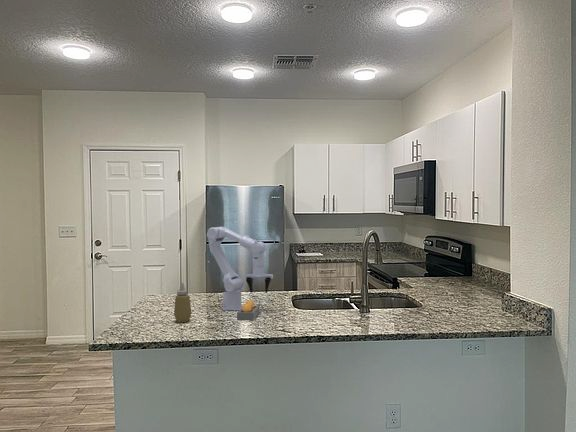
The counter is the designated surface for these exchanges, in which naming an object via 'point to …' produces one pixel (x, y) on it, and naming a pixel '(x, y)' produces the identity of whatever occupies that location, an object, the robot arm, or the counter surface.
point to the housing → (248, 315)
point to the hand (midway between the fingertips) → (259, 292)
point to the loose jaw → (246, 307)
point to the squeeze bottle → (182, 305)
